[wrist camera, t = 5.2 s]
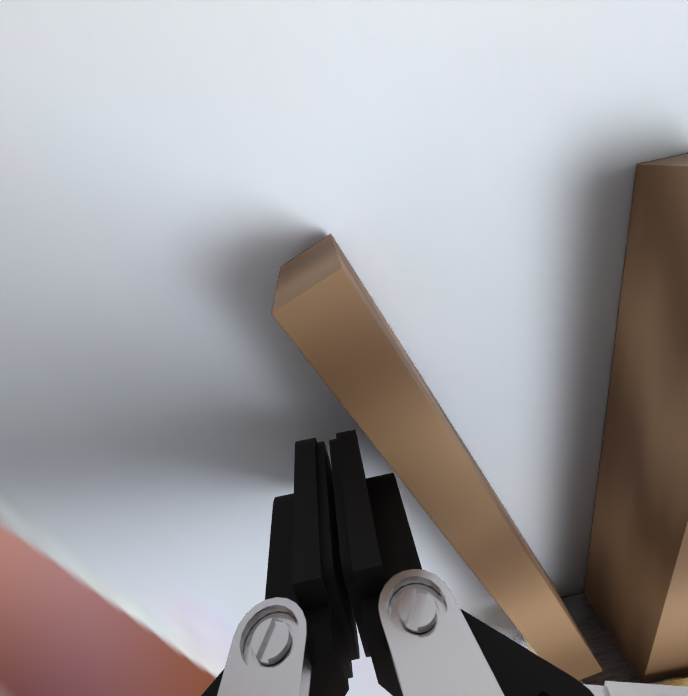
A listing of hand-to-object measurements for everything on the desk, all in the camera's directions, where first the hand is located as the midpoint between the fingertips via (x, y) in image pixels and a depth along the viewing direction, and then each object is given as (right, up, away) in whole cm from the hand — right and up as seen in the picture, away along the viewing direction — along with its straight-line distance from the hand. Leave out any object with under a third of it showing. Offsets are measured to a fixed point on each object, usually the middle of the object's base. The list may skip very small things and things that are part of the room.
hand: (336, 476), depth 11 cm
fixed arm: (+9, 0, +2) cm, 10 cm away
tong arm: (+4, 0, +2) cm, 4 cm away
